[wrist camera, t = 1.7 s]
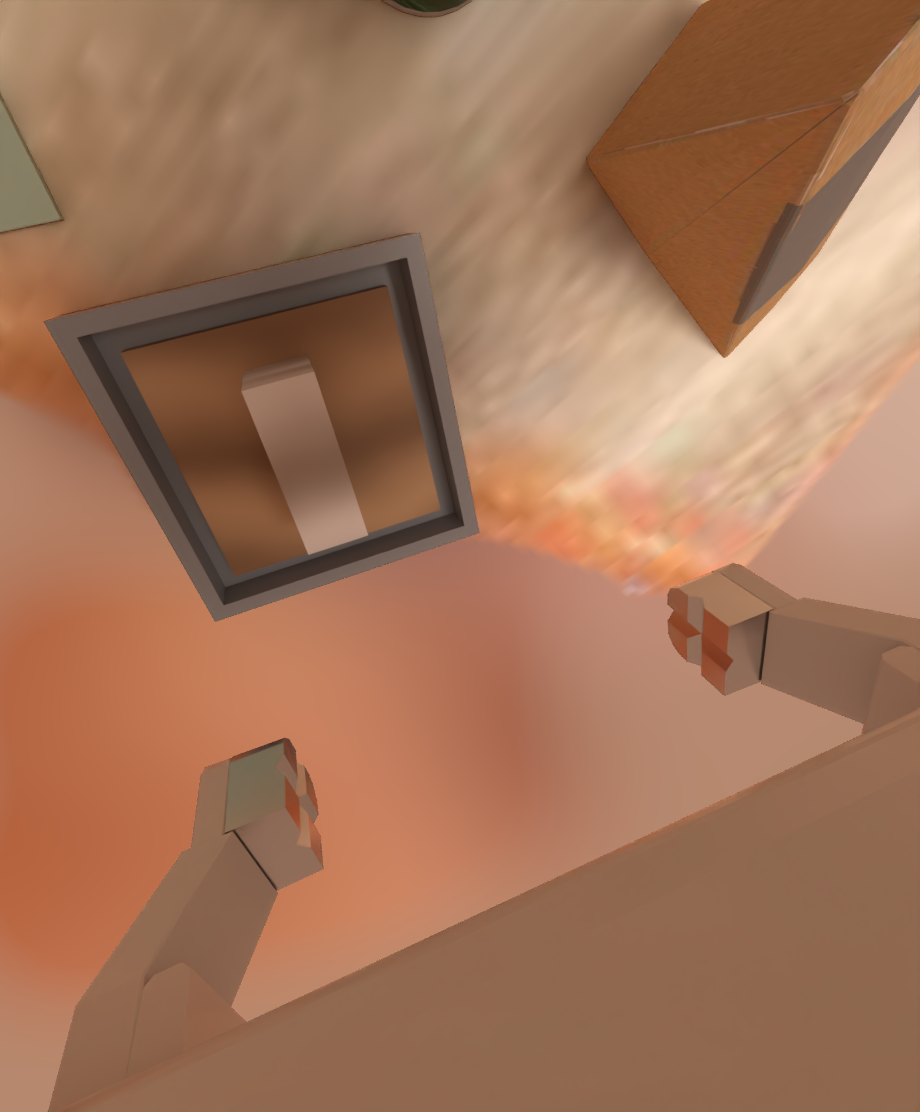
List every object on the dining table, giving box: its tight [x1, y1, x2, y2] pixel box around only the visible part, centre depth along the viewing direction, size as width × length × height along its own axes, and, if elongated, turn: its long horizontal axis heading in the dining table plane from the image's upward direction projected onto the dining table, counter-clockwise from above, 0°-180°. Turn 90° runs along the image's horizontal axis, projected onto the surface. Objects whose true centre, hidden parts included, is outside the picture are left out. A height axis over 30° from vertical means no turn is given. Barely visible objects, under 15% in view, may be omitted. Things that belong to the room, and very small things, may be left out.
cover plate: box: [121, 285, 441, 576], centre depth 26 cm, size 12×12×5 cm
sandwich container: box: [587, 0, 920, 358], centre depth 24 cm, size 9×15×15 cm, turn 51°
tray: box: [44, 233, 479, 621], centre depth 28 cm, size 16×16×2 cm
